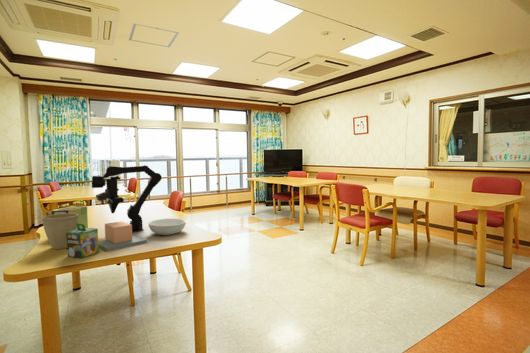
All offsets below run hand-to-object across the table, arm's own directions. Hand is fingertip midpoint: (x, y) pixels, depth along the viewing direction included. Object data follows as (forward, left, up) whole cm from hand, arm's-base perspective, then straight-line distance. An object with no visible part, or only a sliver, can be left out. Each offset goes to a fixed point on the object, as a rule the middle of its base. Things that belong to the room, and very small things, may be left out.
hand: (112, 213), depth 170 cm
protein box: (+18, -16, -12) cm, 27 cm away
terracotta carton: (+5, +15, -6) cm, 17 cm away
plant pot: (+28, +10, -12) cm, 32 cm away
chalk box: (+24, +31, -12) cm, 41 cm away
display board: (+5, +26, -12) cm, 29 cm away
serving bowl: (-22, +24, -12) cm, 35 cm away
